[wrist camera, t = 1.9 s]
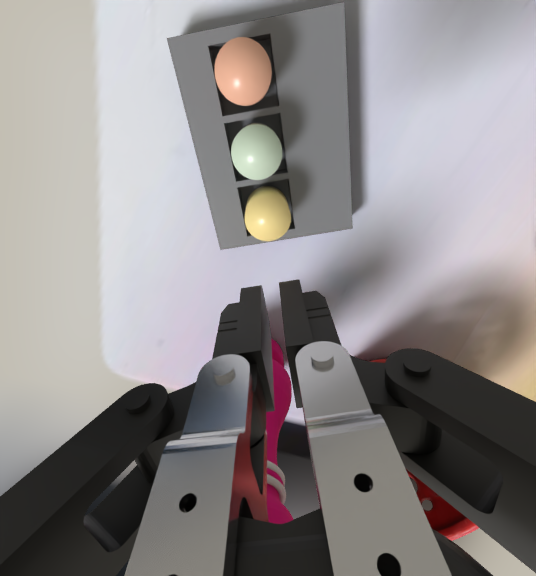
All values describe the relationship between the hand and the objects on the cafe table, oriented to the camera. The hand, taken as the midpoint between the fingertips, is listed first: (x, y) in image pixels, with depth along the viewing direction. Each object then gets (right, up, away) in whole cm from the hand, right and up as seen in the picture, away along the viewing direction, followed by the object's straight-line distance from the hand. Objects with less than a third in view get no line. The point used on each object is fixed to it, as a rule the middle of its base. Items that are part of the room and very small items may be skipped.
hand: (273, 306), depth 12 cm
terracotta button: (-2, +13, +8) cm, 16 cm away
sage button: (-1, +10, +10) cm, 14 cm away
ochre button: (0, +7, +12) cm, 14 cm away
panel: (0, +11, +11) cm, 16 cm away
